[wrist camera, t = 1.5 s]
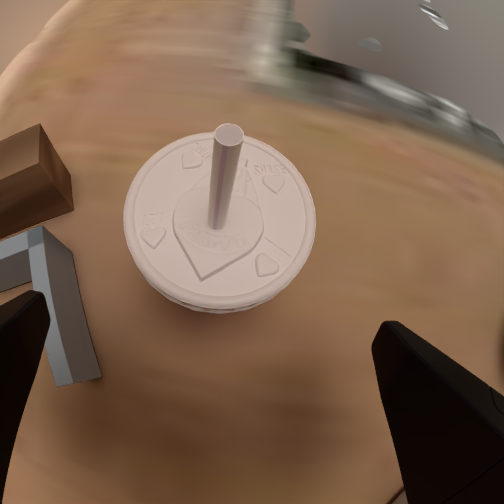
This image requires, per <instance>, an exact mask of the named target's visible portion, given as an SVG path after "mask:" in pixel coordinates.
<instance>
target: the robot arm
mask: <svg viewBox="0 0 504 504" xmlns="http://www.w3.org/2000/svg"><path fill="white" fill-rule="evenodd" d="M50 323H51V318H50V314H49V310H48V306H47V302H46V298H45V295H44V294H43V293H42V292H39V291H34V290H29V291H27V292H25V293H23V294H21V295H19V296H17V297H16V298H14V299H12V300H10V301H8V302H6V303H5V304H3V305H1V306H0V504H2V500H3V494H4V488H5V482H6V477H7V473H8V468H9V463H10V459H11V455H12V451H13V447H14V443H15V439H16V435H17V432H18V428H19V425H20V421H21V418H22V415H23V411H24V408H25V405H26V402H27V399H28V396H29V393H30V390H31V387H32V384H33V382H34V379H35V376H36V373H37V369H38V366H39V362H40V359H41V355H42V351H43V348H44V344H45V341H46V337H47V334H48V331H49V327H50ZM371 349H372V356H373V360H374V365H375V370H376V376H377V381H378V386H379V391H380V396H381V400H382V404H383V407H384V411H385V414H386V418H387V421H388V425H389V428H390V432H391V436H392V440H393V443H394V447H395V451H396V455H397V459H398V463H399V467H400V471H401V476H402V480H403V484H404V489H405V493H406V498H407V503H408V504H504V396H503V395H501V394H500V393H499V392H497V391H496V390H494V389H493V388H492V387H489V385H488V384H486V383H485V382H483V381H482V380H481V379H479V378H478V377H476V376H475V375H474V374H472V373H471V372H469V371H468V370H467V369H465V368H464V367H462V366H461V365H460V364H458V363H457V362H455V361H454V360H453V359H451V358H450V357H448V356H447V355H445V354H444V353H443V352H441V351H440V350H438V349H437V348H436V347H434V346H433V345H431V344H430V343H428V342H427V341H426V340H424V339H423V338H421V337H420V336H418V335H417V334H415V333H414V332H413V331H411V330H410V329H408V328H407V327H405V326H404V325H402V324H401V323H400V322H398V321H384V322H383V323H382V324H381V326H380V328H379V330H378V332H377V334H376V336H375V338H374V340H373V343H372V348H371Z"/></svg>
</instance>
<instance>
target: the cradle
mask: <svg viewBox="0 0 504 504" xmlns="http://www.w3.org/2000/svg"><path fill="white" fill-rule="evenodd" d="M30 281H32V283H33V289H34V291H39V292H42V293H43V294H44V295H45V298H46V302H47V306H48V310H49V314H50V318H51V323H50V327H49V331H48V334H47V337H46V341H45V348H46V352H47V356H48V360H49V363H50V367H51V370H52V374H53V377H54V380H55V384H56V387H59V386H64V385H69V384H74V383H78V382H83V381H87V380H92V379H96V378H99V377H102V375H101V372H100V369H99V365H98V362H97V359H96V356H95V352H94V349H93V345H92V342H91V338H90V335H89V331H88V327H87V323H86V319H85V315H84V311H83V307H82V303H81V298H80V293H79V289H78V284H77V279H76V274H75V268H74V263H73V257H72V252H71V251H70V250H69V249H68V248H67V247H66V246H65V245H63V244H62V243H61V242H60V241H59V240H58V239H57V238H56V237H54V236H53V235H52V234H51V233H50V232H49V231H48V230H47V229H46V228H45V227H43V226H42V225H41V226H38V227H36V228H33V229H31V230H28V231H26V232H23V233H21V234H18V235H16V236H13V237H11V238H8V239H6V240H4V241H1V242H0V292H2V291H4V290H7V289H10V288H13V287H15V286H18V285H21V284H24V283H27V282H30Z"/></svg>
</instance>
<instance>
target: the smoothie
mask: <svg viewBox="0 0 504 504" xmlns="http://www.w3.org/2000/svg"><path fill="white" fill-rule="evenodd" d="M123 222H124V232H125V237H126V241H127V244H128V247H129V250H130V252H131V254H132V256H133V259H134V262H135V264H136V266H137V267H138V268H139V270H140V271H141V273H142V274H143V276H144V277H145V279H146V280H147V281H148V283H149V284H150V285H151V286H152V287H154V288H155V289H156V290H157V291H159V292H160V293H161V294H162V295H164V296H165V297H166V298H167V299H169V300H170V301H172V302H175V303H177V304H179V305H182V306H184V307H187V308H189V309H191V310H194V311H200V312H208V313H216V314H225V313H232V312H239V311H246V310H249V309H251V308H253V307H256V306H258V305H260V304H262V303H265V302H267V301H269V300H271V299H272V298H273V297H275V296H276V295H277V294H278V293H279V292H281V291H282V290H283V289H284V288H285V287H287V286H288V285H289V284H290V282H291V281H292V279H293V278H294V277H295V276H296V275H297V274H298V272H299V271H300V270H301V268H302V267H303V265H304V263H305V262H306V260H307V258H308V256H309V253H310V251H311V248H312V245H313V241H314V237H315V229H316V216H315V208H314V203H313V199H312V196H311V193H310V191H309V189H308V186H307V184H306V182H305V181H304V179H303V177H302V176H301V174H300V173H299V171H298V170H297V169H296V168H295V166H294V165H293V164H292V163H291V162H290V161H289V160H288V159H287V158H286V157H284V156H283V155H282V154H281V153H280V152H278V151H277V150H275V149H274V148H272V147H271V146H269V145H267V144H265V143H263V142H261V141H259V140H256V139H254V138H251V137H248V136H245V135H244V133H243V131H242V129H241V128H240V127H238V126H237V125H234V124H223V125H220V126H219V127H217V129H216V130H215V132H207V133H200V134H195V135H191V136H187V137H184V138H182V139H179V140H177V141H174V142H172V143H170V144H169V145H167V146H165V147H164V148H162V149H161V150H159V151H158V152H156V153H155V154H154V155H153V156H152V157H151V158H150V159H149V160H148V161H147V162H146V163H145V164H144V165H143V166H142V167H141V169H140V170H139V171H138V173H137V174H136V176H135V178H134V179H133V181H132V183H131V185H130V188H129V191H128V193H127V197H126V201H125V206H124V217H123Z"/></svg>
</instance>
